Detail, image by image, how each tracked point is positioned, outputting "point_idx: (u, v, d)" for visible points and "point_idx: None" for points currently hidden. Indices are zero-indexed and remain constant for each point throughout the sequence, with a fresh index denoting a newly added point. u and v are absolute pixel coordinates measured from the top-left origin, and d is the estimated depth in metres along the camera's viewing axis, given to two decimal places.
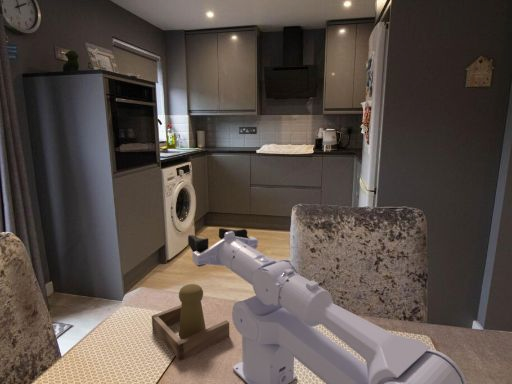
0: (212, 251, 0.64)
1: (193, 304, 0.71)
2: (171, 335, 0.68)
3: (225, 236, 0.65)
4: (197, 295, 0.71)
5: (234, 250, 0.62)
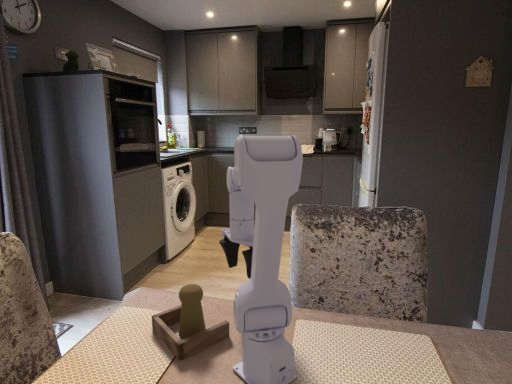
0: None
1: (193, 304, 0.71)
2: (171, 335, 0.68)
3: None
4: (197, 295, 0.71)
5: None
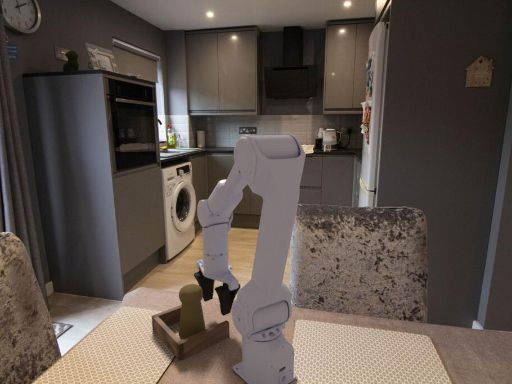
0: None
1: (193, 304, 0.71)
2: (171, 335, 0.68)
3: None
4: (197, 295, 0.71)
5: None
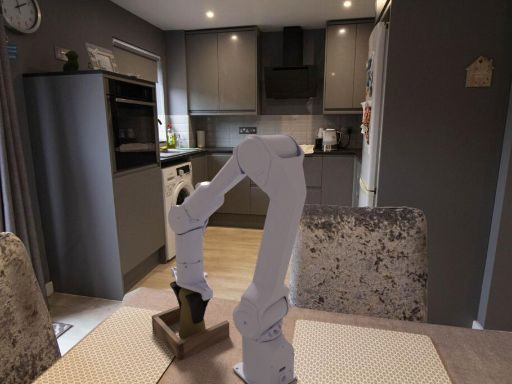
0: None
1: None
2: (171, 335, 0.68)
3: None
4: None
5: None
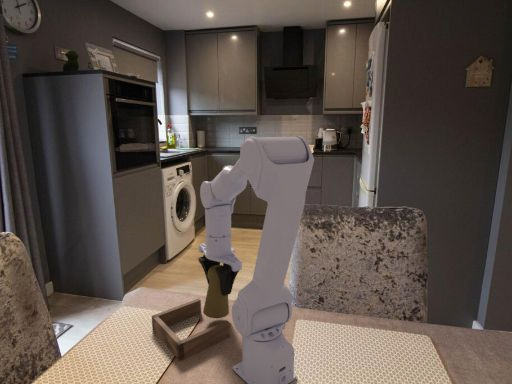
0: None
1: None
2: (171, 335, 0.68)
3: None
4: None
5: None
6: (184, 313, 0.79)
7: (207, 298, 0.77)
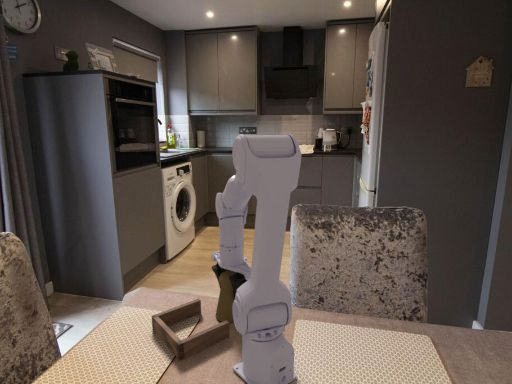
0: None
1: (232, 288, 0.78)
2: (171, 335, 0.68)
3: None
4: None
5: None
6: (184, 313, 0.79)
7: (219, 303, 0.79)
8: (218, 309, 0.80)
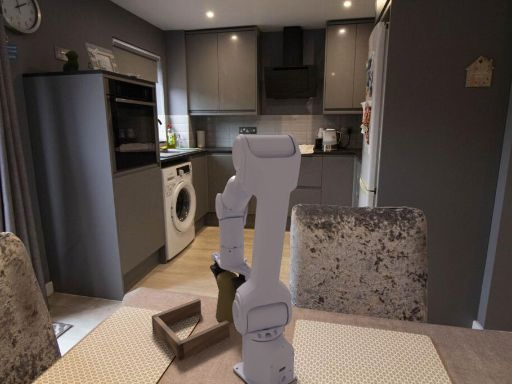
0: None
1: (230, 289, 0.78)
2: (171, 335, 0.68)
3: None
4: None
5: None
6: (184, 313, 0.79)
7: (218, 304, 0.79)
8: (217, 310, 0.80)
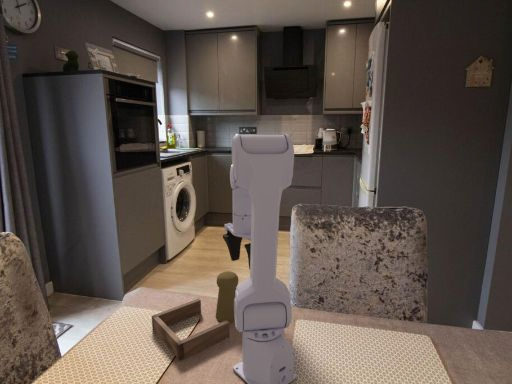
0: None
1: (230, 289, 0.78)
2: (171, 335, 0.68)
3: None
4: (234, 281, 0.78)
5: None
6: (184, 313, 0.79)
7: (218, 304, 0.79)
8: (217, 310, 0.80)
